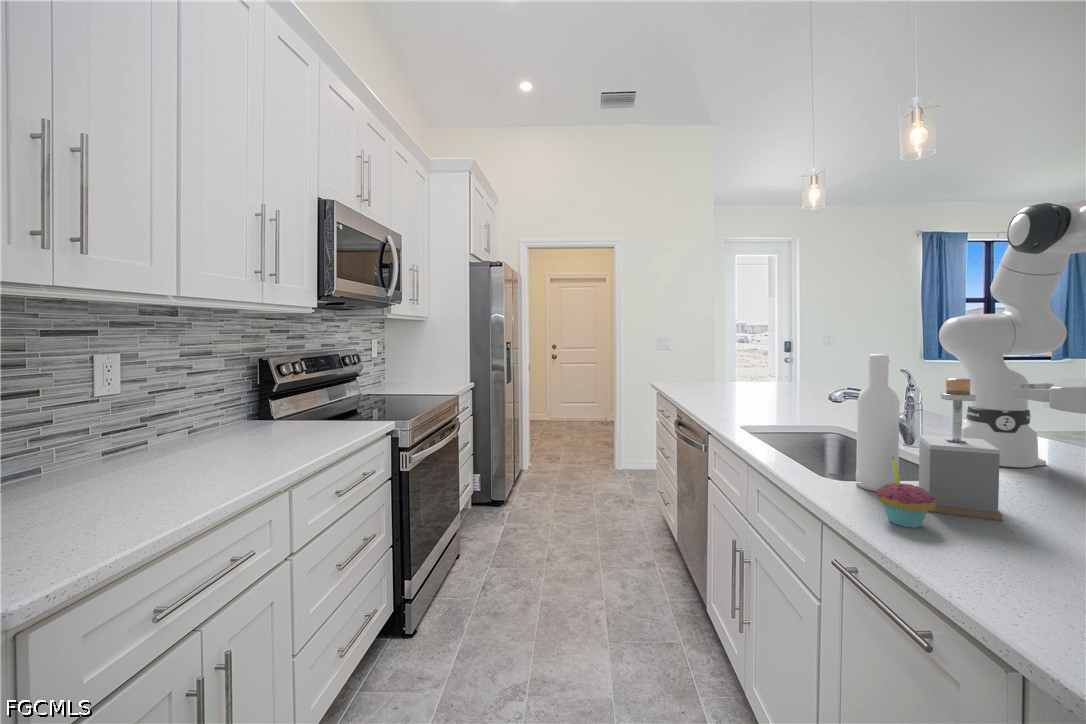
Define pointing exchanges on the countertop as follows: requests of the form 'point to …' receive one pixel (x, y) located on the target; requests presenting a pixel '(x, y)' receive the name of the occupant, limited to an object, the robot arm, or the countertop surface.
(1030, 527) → the countertop surface
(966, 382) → the plunger
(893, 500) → the cupcake
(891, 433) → the bottle
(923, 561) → the countertop surface
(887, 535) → the countertop surface
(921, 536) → the countertop surface
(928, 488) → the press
